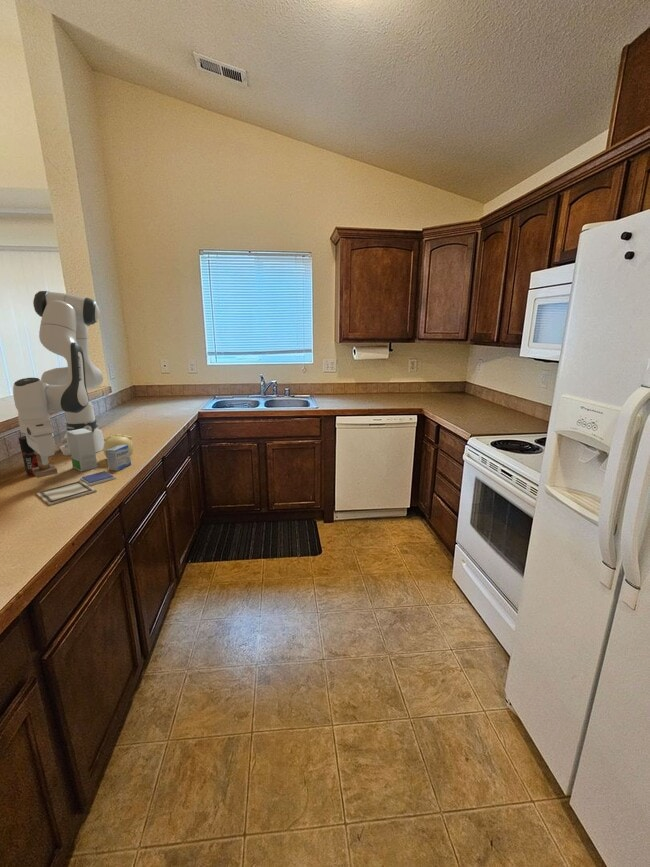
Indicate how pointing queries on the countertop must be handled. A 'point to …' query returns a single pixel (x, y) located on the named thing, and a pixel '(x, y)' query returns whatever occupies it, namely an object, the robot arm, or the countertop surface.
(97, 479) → the ink pad
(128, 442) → the sculpture
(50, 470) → the stamp
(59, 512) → the countertop surface
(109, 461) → the medicine box
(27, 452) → the deodorant
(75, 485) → the marked board
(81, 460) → the skincare box
